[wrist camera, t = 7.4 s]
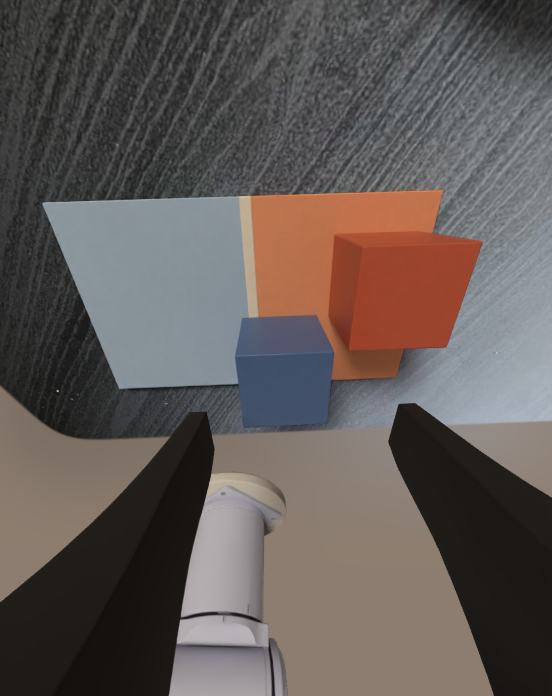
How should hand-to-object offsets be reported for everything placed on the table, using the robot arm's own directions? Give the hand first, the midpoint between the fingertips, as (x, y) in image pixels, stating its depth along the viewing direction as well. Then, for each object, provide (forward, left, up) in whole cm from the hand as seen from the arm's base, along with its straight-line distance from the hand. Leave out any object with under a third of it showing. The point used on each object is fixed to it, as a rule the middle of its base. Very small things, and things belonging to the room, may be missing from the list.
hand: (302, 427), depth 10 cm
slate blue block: (-1, 0, -7) cm, 7 cm away
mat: (0, +3, -8) cm, 8 cm away
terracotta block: (+6, 0, -7) cm, 9 cm away
